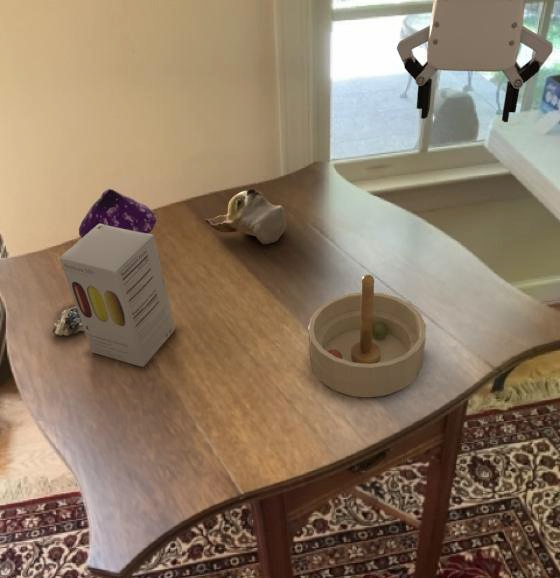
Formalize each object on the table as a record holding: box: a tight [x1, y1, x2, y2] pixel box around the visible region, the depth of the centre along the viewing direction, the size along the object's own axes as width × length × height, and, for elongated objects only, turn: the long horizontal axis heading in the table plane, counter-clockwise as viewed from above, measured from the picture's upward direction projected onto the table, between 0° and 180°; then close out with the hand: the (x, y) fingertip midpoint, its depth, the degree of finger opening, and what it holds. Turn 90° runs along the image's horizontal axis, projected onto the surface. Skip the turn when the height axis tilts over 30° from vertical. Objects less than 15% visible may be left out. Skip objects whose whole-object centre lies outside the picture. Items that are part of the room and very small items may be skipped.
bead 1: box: [328, 349, 342, 359], centre depth 90 cm, size 2×2×2 cm
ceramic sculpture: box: [204, 188, 287, 245], centre depth 115 cm, size 11×9×15 cm
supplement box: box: [59, 224, 176, 368], centre depth 92 cm, size 10×9×17 cm
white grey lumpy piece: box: [51, 305, 85, 337], centre depth 102 cm, size 7×8×2 cm
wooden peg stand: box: [351, 274, 380, 364], centre depth 86 cm, size 4×4×14 cm
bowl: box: [307, 291, 427, 398], centre depth 90 cm, size 15×15×6 cm
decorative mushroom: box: [78, 188, 157, 239], centre depth 106 cm, size 12×12×15 cm
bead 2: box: [372, 322, 388, 339], centre depth 93 cm, size 2×2×2 cm
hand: (464, 115), depth 81 cm, fingers open, 9 cm apart
